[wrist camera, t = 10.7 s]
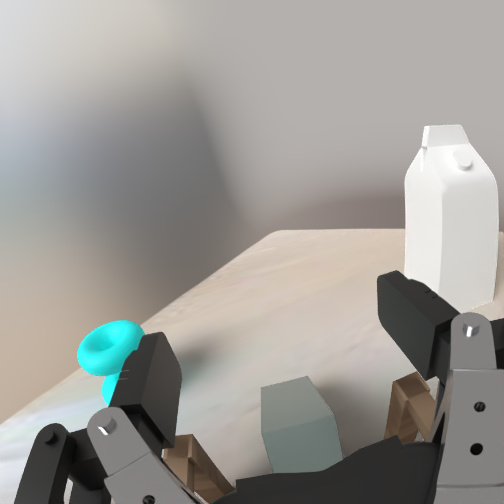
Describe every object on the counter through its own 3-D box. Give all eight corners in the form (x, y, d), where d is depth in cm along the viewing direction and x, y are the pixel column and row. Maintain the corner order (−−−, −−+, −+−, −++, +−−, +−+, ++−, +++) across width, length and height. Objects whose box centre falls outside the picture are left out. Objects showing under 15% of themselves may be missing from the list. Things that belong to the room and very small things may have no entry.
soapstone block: (261, 433, 17) (260, 387, 29) (277, 486, 16) (271, 427, 28) (334, 414, 17) (307, 375, 29) (345, 468, 16) (316, 416, 28)
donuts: (62, 350, 32) (111, 312, 40) (97, 402, 35) (137, 363, 43) (99, 370, 27) (155, 321, 35) (139, 427, 30) (182, 378, 38)
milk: (457, 270, 45) (451, 123, 36) (492, 300, 34) (498, 125, 25) (403, 286, 46) (389, 128, 37) (434, 323, 35) (431, 127, 26)
